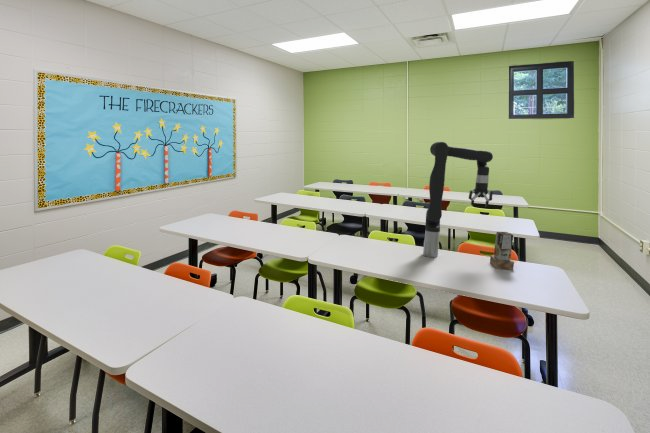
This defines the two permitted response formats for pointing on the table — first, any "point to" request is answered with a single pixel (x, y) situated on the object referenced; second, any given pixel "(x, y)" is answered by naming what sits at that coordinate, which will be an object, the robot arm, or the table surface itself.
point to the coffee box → (503, 245)
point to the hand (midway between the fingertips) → (479, 206)
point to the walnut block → (501, 263)
